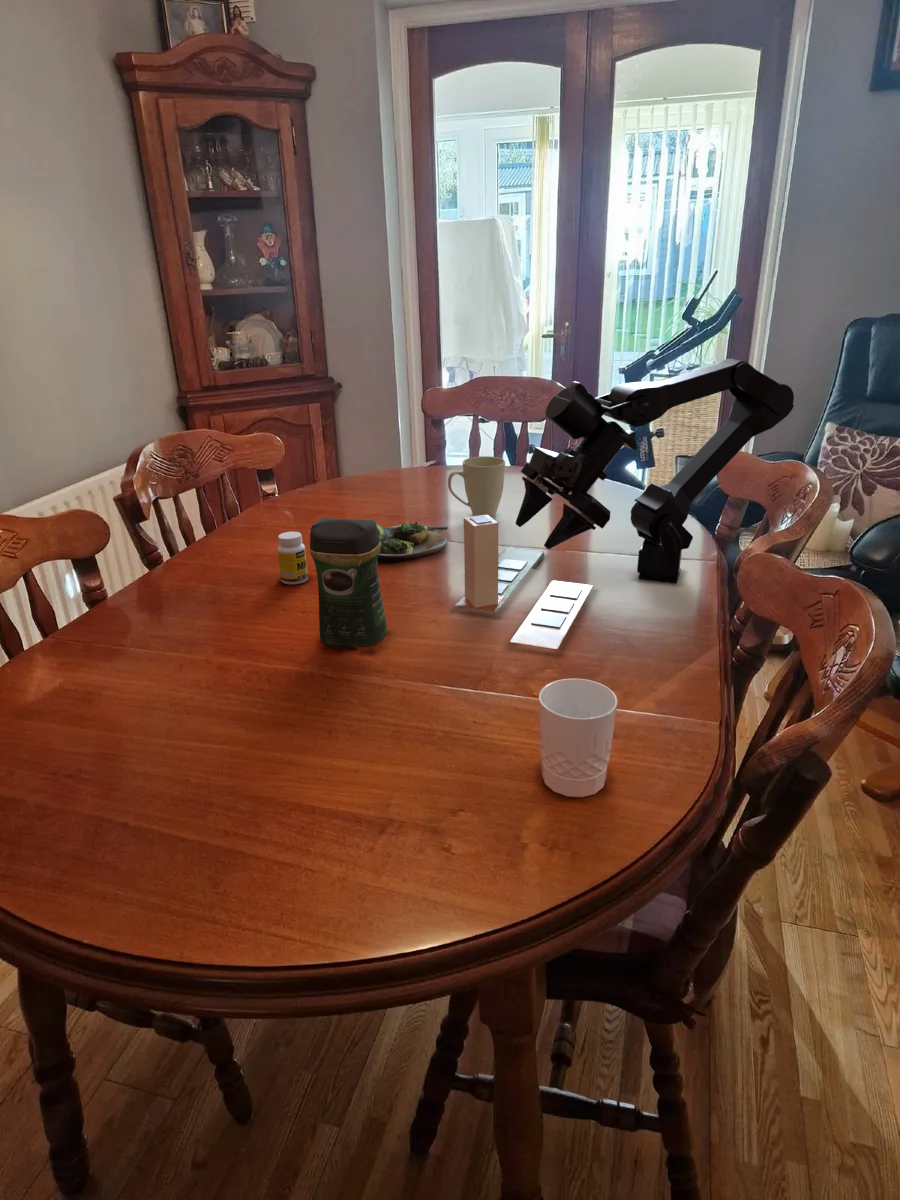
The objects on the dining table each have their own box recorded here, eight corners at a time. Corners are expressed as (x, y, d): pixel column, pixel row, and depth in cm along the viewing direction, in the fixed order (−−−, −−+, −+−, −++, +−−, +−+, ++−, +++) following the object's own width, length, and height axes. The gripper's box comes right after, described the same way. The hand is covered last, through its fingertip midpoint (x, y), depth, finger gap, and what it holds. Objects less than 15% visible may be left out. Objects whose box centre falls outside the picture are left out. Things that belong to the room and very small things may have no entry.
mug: (475, 506, 170) (474, 454, 165) (512, 513, 165) (513, 459, 160) (446, 519, 162) (445, 464, 157) (485, 527, 157) (484, 470, 152)
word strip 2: (552, 585, 128) (552, 579, 128) (593, 590, 126) (593, 584, 125) (509, 648, 108) (509, 640, 107) (557, 655, 105) (557, 648, 105)
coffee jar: (393, 630, 114) (386, 513, 106) (375, 655, 107) (366, 531, 99) (333, 625, 116) (322, 509, 109) (312, 648, 109) (299, 526, 102)
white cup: (530, 758, 84) (532, 680, 80) (600, 753, 84) (605, 675, 80) (544, 804, 77) (547, 721, 73) (620, 798, 77) (627, 716, 73)
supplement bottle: (302, 586, 131) (297, 540, 127) (276, 584, 131) (271, 539, 128) (312, 575, 135) (307, 531, 131) (287, 574, 136) (282, 530, 132)
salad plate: (430, 524, 159) (430, 503, 158) (470, 550, 145) (469, 527, 143) (343, 540, 152) (342, 518, 150) (375, 568, 137) (374, 544, 135)
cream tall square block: (487, 593, 123) (487, 513, 117) (498, 604, 119) (498, 521, 114) (464, 597, 122) (463, 516, 116) (474, 608, 118) (473, 525, 112)
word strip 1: (508, 552, 143) (508, 546, 143) (543, 556, 141) (544, 550, 140) (454, 611, 120) (454, 604, 119) (496, 617, 117) (496, 610, 117)
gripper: (530, 412, 120) (471, 491, 123) (595, 445, 106) (528, 535, 108) (571, 449, 127) (515, 523, 129) (639, 485, 112) (574, 569, 114)
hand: (531, 536), depth 120 cm, fingers open, 9 cm apart
